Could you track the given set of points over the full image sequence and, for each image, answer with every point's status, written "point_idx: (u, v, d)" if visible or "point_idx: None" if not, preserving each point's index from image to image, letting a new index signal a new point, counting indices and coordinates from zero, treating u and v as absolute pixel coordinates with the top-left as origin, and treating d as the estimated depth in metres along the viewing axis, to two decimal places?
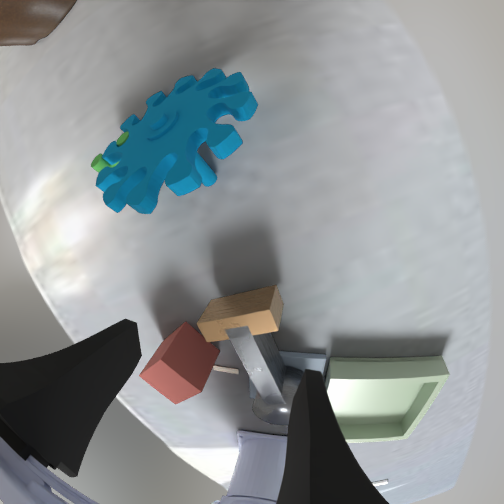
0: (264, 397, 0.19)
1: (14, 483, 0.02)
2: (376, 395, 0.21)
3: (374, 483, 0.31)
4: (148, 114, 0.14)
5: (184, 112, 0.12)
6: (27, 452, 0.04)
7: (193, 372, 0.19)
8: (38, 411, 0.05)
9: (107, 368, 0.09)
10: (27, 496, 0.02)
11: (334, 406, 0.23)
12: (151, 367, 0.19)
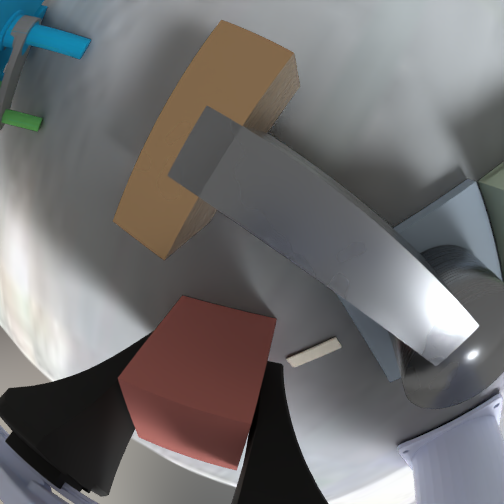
0: (423, 346, 0.05)
1: (14, 483, 0.02)
2: None
3: None
4: None
5: None
6: (27, 452, 0.04)
7: (214, 385, 0.07)
8: (75, 438, 0.05)
9: None
10: (27, 496, 0.02)
11: None
12: (129, 408, 0.07)
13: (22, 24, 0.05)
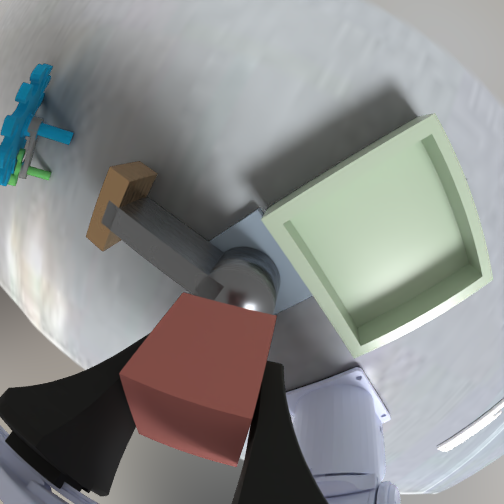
0: (195, 292, 0.15)
1: (14, 483, 0.02)
2: (385, 230, 0.15)
3: None
4: None
5: None
6: (27, 452, 0.04)
7: (215, 380, 0.07)
8: (75, 438, 0.05)
9: None
10: (27, 496, 0.02)
11: (344, 284, 0.17)
12: (130, 404, 0.07)
13: (32, 124, 0.14)
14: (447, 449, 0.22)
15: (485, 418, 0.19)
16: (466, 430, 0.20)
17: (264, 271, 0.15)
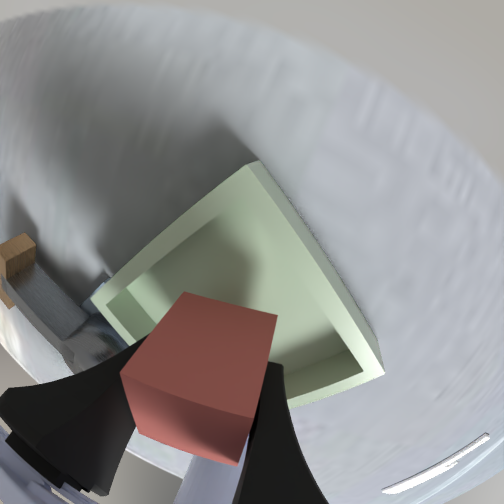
0: (61, 352, 0.13)
1: (14, 483, 0.02)
2: None
3: (468, 447, 0.16)
4: None
5: None
6: (27, 452, 0.04)
7: (217, 379, 0.07)
8: (74, 438, 0.05)
9: None
10: (27, 496, 0.02)
11: None
12: (131, 404, 0.07)
13: None
14: (395, 492, 0.21)
15: (435, 469, 0.18)
16: (412, 478, 0.19)
17: (105, 342, 0.14)
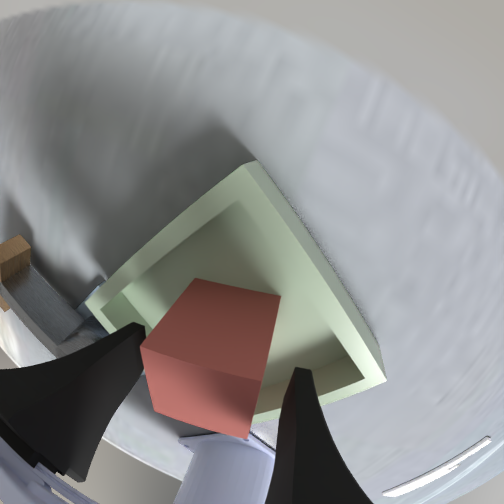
0: (57, 356, 0.13)
1: (14, 483, 0.02)
2: None
3: (469, 450, 0.15)
4: None
5: None
6: (27, 452, 0.04)
7: (227, 349, 0.09)
8: (47, 418, 0.05)
9: (115, 372, 0.09)
10: (27, 496, 0.02)
11: None
12: (148, 378, 0.09)
13: None
14: (396, 495, 0.20)
15: (436, 472, 0.17)
16: (413, 481, 0.18)
17: None
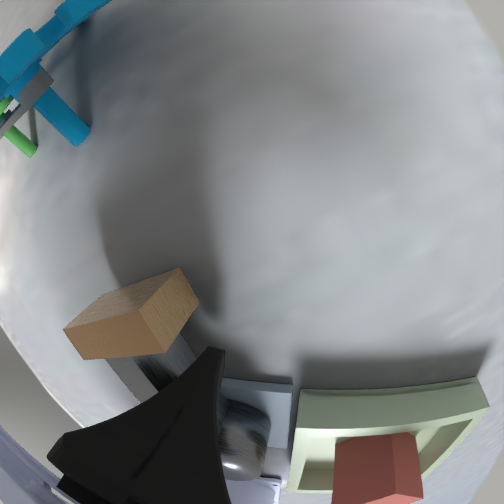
0: None
1: (14, 483, 0.02)
2: None
3: None
4: None
5: None
6: (27, 452, 0.04)
7: (414, 483, 0.09)
8: None
9: None
10: (27, 496, 0.02)
11: (315, 451, 0.14)
12: (367, 502, 0.08)
13: (31, 86, 0.06)
14: None
15: None
16: None
17: (264, 450, 0.11)
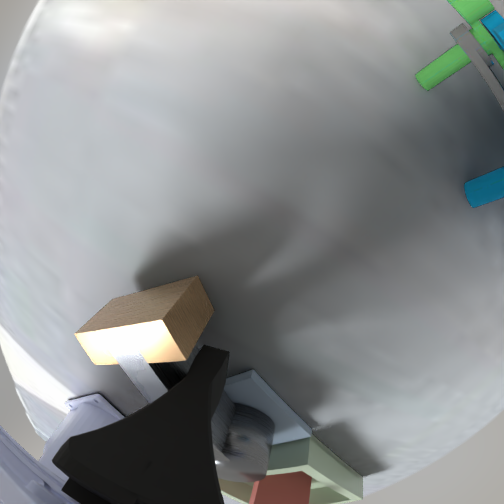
0: None
1: (14, 483, 0.02)
2: None
3: None
4: None
5: None
6: (27, 452, 0.04)
7: None
8: None
9: None
10: (27, 496, 0.02)
11: None
12: None
13: None
14: None
15: None
16: None
17: (269, 452, 0.12)
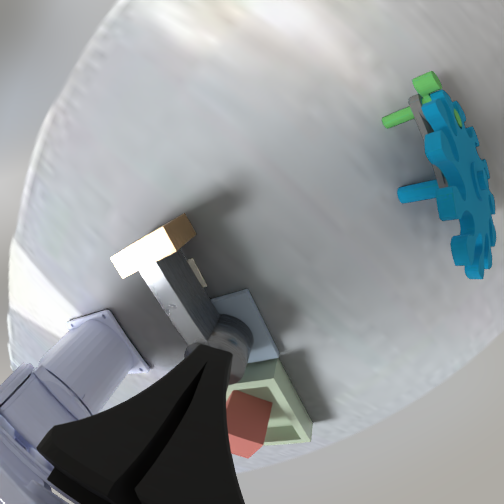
0: (191, 345, 0.18)
1: (14, 483, 0.02)
2: None
3: None
4: (472, 144, 0.11)
5: (483, 203, 0.11)
6: (27, 452, 0.04)
7: None
8: (139, 473, 0.04)
9: (191, 402, 0.08)
10: (27, 496, 0.02)
11: None
12: (244, 439, 0.19)
13: None
14: None
15: None
16: None
17: (246, 350, 0.19)
